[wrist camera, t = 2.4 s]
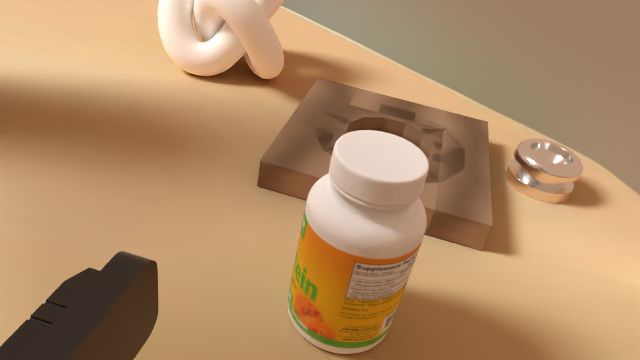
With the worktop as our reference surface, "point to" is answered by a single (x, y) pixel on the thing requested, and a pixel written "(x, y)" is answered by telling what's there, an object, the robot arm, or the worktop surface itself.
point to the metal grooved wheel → (544, 170)
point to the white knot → (221, 35)
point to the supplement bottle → (358, 242)
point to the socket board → (401, 120)
